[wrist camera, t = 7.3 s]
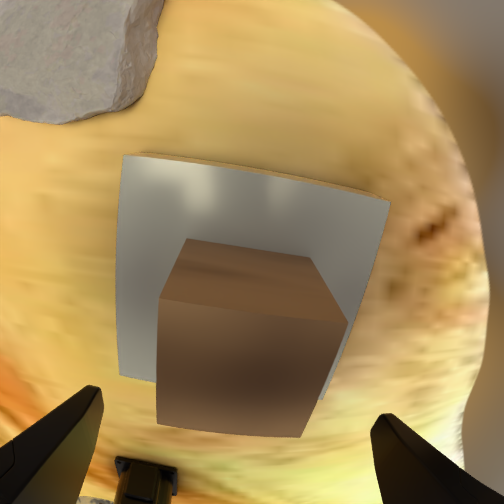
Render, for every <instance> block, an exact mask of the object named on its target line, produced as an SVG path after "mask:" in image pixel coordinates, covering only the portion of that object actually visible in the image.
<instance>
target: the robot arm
mask: <svg viewBox="0 0 504 504" xmlns="http://www.w3.org/2000/svg"><path fill="white" fill-rule="evenodd" d="M103 411H104V403H103V397H102V391H101V389H100V388H99V387H96V386H92V385H87V386H85V387H84V388H83V389H81V390H80V391H79V392H77V393H76V394H74V395H73V396H72V397H70V398H69V399H68V400H66V401H65V402H63V403H62V404H61V405H59V406H58V407H57V408H55V409H54V410H52V411H51V412H50V413H48V414H47V415H45V416H44V417H43V418H41V419H40V420H38V421H37V422H36V423H34V424H33V425H32V426H30V427H29V428H27V429H26V430H25V431H23V432H22V433H20V434H19V435H18V436H16V437H15V438H13V440H10V441H9V442H8V443H6V444H5V445H3V446H2V447H0V504H76V503H77V500H78V497H79V494H80V491H81V488H82V485H83V482H84V479H85V476H86V473H87V470H88V467H89V464H90V462H91V459H92V456H93V453H94V450H95V445H96V441H97V437H98V432H99V428H100V424H101V420H102V416H103ZM370 437H371V444H372V451H373V458H374V466H375V471H376V476H377V480H378V484H379V488H380V493H381V497H382V501H383V504H504V496H502V495H501V494H499V493H497V492H496V491H494V490H492V489H490V488H489V487H487V486H485V485H484V484H482V483H481V482H479V481H478V480H476V479H475V478H473V477H472V476H471V475H469V474H468V473H467V472H465V471H464V470H463V469H461V468H459V466H457V465H456V464H455V463H454V462H452V461H451V460H450V459H449V458H447V457H446V456H445V455H443V454H442V453H441V452H440V451H438V450H437V449H436V448H435V447H433V446H432V445H431V444H430V443H428V442H427V441H426V440H425V439H423V438H422V437H421V436H420V435H418V434H417V433H416V432H415V431H413V430H412V429H411V428H410V427H408V426H407V425H406V424H405V423H403V422H402V421H401V420H400V419H399V418H397V417H396V416H395V415H394V414H392V413H386V414H381V415H380V416H379V417H378V419H377V420H376V422H375V424H374V425H373V427H372V428H371V432H370ZM115 465H116V468H117V472H118V475H119V483H118V487H117V491H116V495H115V499H114V503H113V504H171V498H172V496H176V495H177V470H176V469H175V468H170V467H164V466H158V465H153V464H148V463H143V462H138V461H134V460H129V459H125V458H121V457H116V458H115ZM99 504H102V503H99Z"/></svg>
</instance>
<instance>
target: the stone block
mask: <svg viewBox="0 0 504 504" xmlns="http://www.w3.org/2000/svg"><path fill="white" fill-rule="evenodd" d="M163 3H164V0H0V116H12V117H14V118H18V119H21V120H24V121H25V120H26V121H31V122H38V123H48V124H65V123H68V122H71V121H78V120H82V119H88V118H90V117H93V116H95V115H98V114H101V113H104V112H115V111H120V110H122V109H125V108H126V107H127V106H129V105H131V104H133V103H134V102H135V100H136V99H138V98H140V97H141V96H142V95H143V92H144V90H145V88H146V85H147V81H148V78H149V76H150V73H151V71H152V69H153V67H154V64H155V61H156V59H157V38H158V32H157V28H156V27H157V24H158V19H159V16H160V14H161V11H162V8H163Z"/></svg>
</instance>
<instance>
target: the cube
mask: <svg viewBox="0 0 504 504" xmlns="http://www.w3.org/2000/svg"><path fill="white" fill-rule="evenodd" d="M348 324H349V323H348V321H347V319H346V318H345V316H344V314H343V312H342V311H341V309H340V307H339V305H338V304H337V302H336V300H335V298H334V297H333V295H332V293H331V292H330V290H329V288H328V287H327V285H326V283H325V281H324V280H323V278H322V276H321V275H320V273H319V271H318V270H317V268H316V266H315V265H314V263H313V261H312V260H311V258H309V257H303V256H297V255H290V254H284V253H278V252H271V251H265V250H259V249H252V248H246V247H240V246H233V245H227V244H220V243H214V242H207V241H201V240H195V239H188V238H186V241H185V243H184V245H183V247H182V249H181V251H180V253H179V255H178V257H177V259H176V262H175V264H174V266H173V268H172V270H171V272H170V274H169V277H168V279H167V281H166V283H165V285H164V288H163V290H162V292H161V294H160V296H159V303H158V323H157V357H156V410H157V424H161V425H167V426H172V427H178V428H185V429H192V430H199V431H207V432H215V433H224V434H235V435H247V436H264V437H294V438H300V437H301V435H302V433H303V431H304V429H305V427H306V424H307V422H308V420H309V418H310V416H311V414H312V412H313V409H314V407H315V405H316V403H317V400H318V398H319V396H320V394H321V391H322V389H323V387H324V384H325V382H326V380H327V377H328V375H329V372H330V370H331V368H332V365H333V363H334V360H335V358H336V355H337V353H338V350H339V347H340V345H341V342H342V340H343V337H344V334H345V332H346V329H347V326H348Z"/></svg>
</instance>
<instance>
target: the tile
mask: <svg viewBox="0 0 504 504" xmlns="http://www.w3.org/2000/svg"><path fill="white" fill-rule="evenodd" d="M390 204H391V202H389V201H387V200H385V199H383V198H381V197H378V196H376V195H374V194H372V193H369V192H366V191H362V190H358V189H354V188H350V187H346V186H341V185H337V184H332V183H328V182H323V181H319V180H314V179H309V178H305V177H300V176H295V175H290V174H285V173H280V172H274V171H269V170H263V169H258V168H252V167H246V166H240V165H234V164H228V163H222V162H215V161H209V160H202V159H195V158H187V157H180V156H172V155H163V154H155V153H146V152H139V153H132V154H126V155H124V156H123V164H122V173H121V183H120V194H119V207H118V222H117V242H116V325H117V345H118V360H119V372H120V375H121V376H126V377H130V378H135V379H140V380H145V381H150V382H155V383H156V357H157V323H158V303H159V296H160V294H161V292H162V290H163V288H164V285H165V283H166V281H167V279H168V277H169V274H170V272H171V270H172V268H173V266H174V264H175V262H176V259H177V257H178V255H179V253H180V251H181V249H182V247H183V245H184V243H185V241H186V238H188V239H195V240H201V241H207V242H214V243H220V244H227V245H233V246H240V247H246V248H252V249H259V250H265V251H271V252H278V253H284V254H290V255H297V256H303V257H309V258H311V260H312V261H313V263H314V265H315V266H316V268H317V270H318V271H319V273H320V275H321V276H322V278H323V280H324V281H325V283H326V285H327V287H328V288H329V290H330V292H331V293H332V295H333V297H334V298H335V300H336V302H337V304H338V305H339V307H340V309H341V311H342V312H343V314H344V316H345V318H346V319H347V321H348V323H349V324H348V326H347V329H346V332H345V334H344V337H343V340H342V342H341V345H340V347H339V350H338V353H337V355H336V358H335V360H334V363H333V365H332V368H331V370H330V372H329V375H328V377H327V380H326V382H325V384H324V387H323V389H322V391H321V394H320V396H319V398H318V400H322V399H323V397H324V395H325V393H326V390H327V388H328V386H329V383H330V381H331V379H332V376H333V374H334V372H335V369H336V367H337V364H338V362H339V360H340V357H341V355H342V352H343V350H344V347H345V345H346V342H347V339H348V337H349V334H350V331H351V329H352V326H353V323H354V321H355V318H356V315H357V312H358V310H359V307H360V304H361V301H362V298H363V295H364V292H365V289H366V286H367V283H368V280H369V277H370V274H371V271H372V268H373V264H374V261H375V258H376V255H377V251H378V248H379V244H380V241H381V238H382V234H383V230H384V227H385V223H386V219H387V216H388V212H389V208H390Z"/></svg>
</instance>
